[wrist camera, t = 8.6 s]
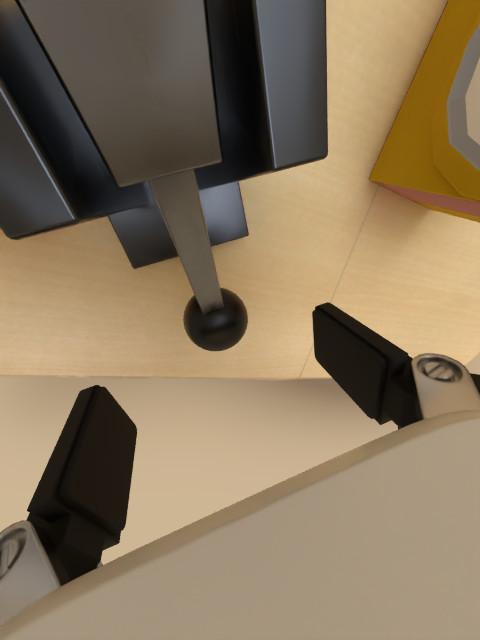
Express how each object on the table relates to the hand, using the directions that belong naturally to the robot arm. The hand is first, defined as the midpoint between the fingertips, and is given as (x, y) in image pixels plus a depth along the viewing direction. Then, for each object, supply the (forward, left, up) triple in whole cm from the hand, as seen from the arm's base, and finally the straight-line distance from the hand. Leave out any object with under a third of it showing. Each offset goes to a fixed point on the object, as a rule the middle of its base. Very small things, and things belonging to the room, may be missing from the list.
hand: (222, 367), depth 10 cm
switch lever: (0, +5, -2) cm, 6 cm away
